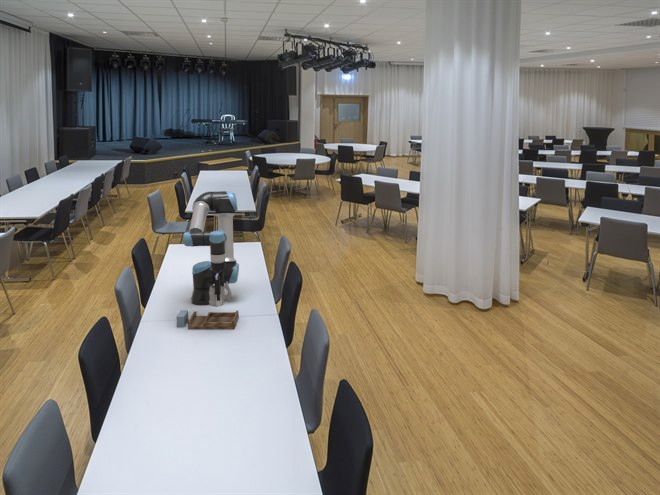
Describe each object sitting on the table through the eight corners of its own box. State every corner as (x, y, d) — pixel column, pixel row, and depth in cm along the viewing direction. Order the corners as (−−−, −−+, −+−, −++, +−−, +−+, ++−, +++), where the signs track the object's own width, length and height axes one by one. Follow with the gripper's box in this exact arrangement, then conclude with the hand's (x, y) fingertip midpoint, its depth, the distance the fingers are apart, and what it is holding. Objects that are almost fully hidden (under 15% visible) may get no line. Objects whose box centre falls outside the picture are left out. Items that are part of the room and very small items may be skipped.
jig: (188, 329, 284) (187, 321, 282) (194, 318, 298) (194, 310, 297) (234, 329, 284) (234, 321, 283) (238, 318, 298) (238, 310, 297)
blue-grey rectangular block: (184, 327, 286) (183, 316, 285) (177, 327, 286) (176, 316, 285) (188, 320, 295) (188, 310, 294) (181, 320, 295) (180, 310, 294)
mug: (208, 303, 290) (207, 281, 287) (230, 300, 294) (229, 279, 291) (210, 307, 283) (209, 285, 280) (233, 305, 287) (232, 283, 284)
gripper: (222, 266, 273) (224, 310, 278) (228, 256, 292) (230, 296, 298) (207, 266, 273) (209, 310, 278) (214, 256, 292) (216, 296, 298)
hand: (220, 303), depth 288 cm, fingers closed on mug, 7 cm apart
